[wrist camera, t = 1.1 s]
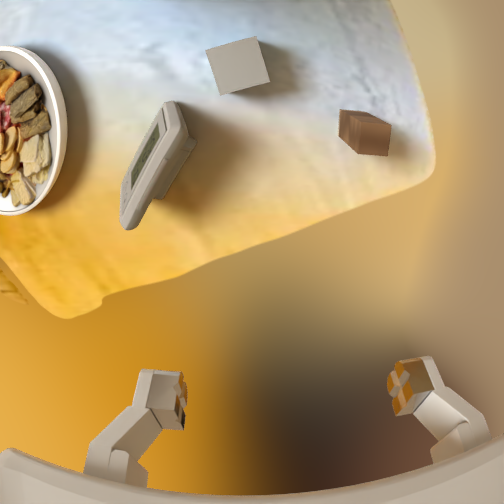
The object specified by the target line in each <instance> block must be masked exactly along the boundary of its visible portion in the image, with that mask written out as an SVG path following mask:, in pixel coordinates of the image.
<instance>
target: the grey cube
mask: <svg viewBox="0 0 504 504" xmlns="http://www.w3.org/2000/svg"><path fill="white" fill-rule="evenodd" d="M205 51H206V54H207V57H208V60H209V63H210V66H211V69H212V72H213V75H214V78H215V81H216V84H217V87H218V90H219V93H220V96H221V95H224V94H228V93H231V92H234V91H238V90H241V89H245V88H249V87H253V86H256V85H260V84H264V83H268V82H270V80H269V76H268V73H267V70H266V66H265V63H264V60H263V56H262V53H261V50H260V47H259V43H258V40H257V37H256V36H255V37H251V38H247V39H243V40H239V41H235V42H232V43H228V44H225V45H221V46H218V47H215V48H211V49H208V50H205Z"/></svg>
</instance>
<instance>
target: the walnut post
mask: <svg viewBox="0 0 504 504" xmlns="http://www.w3.org/2000/svg"><path fill="white" fill-rule="evenodd" d="M391 126H392V125H390V124H388V123H386V122H384V121H382V120H380V119H378V118H377V117H375V116H373V115H371V114H369V113H367V112H363V111H353V110H342V109H340V111H339V126H338V136H339V137H340V138H341V139H342V140H343V141H344V142H346V143H347V144H348V145H349V146H350V147H351V148H352V149H353V150H354V151H355V152H357V153H358V154H366V155H379V156H388V149H389V142H390V134H391Z"/></svg>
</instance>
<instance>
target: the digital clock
mask: <svg viewBox="0 0 504 504" xmlns="http://www.w3.org/2000/svg"><path fill="white" fill-rule="evenodd" d="M196 143H197V140H195V139H194V138H192V137H190V136H188V130H187V127H186V124H185V121H184V118H183V115H182V112H181V110H180V107H179V106H178V104H177V103H176V102H174V101H169V102H166V103H164V104H163V105H162V107H161V109H160V110H159V112H158V114H157V115H156V117H155V119H154V121H153V123H152V124H151V126H150V128H149V130H148V132H147V133H146V135H145V137H144V139H143V141H142V143H141V145H140V146H139V148H138V150H137V152H136V154H135V156H134V158H133V160H132V162H131V164H130V166H129V168H128V170H127V172H126V174H125V177H124V179H123V181H122V184H121V194H120V223H121V225H122V227H123V228H124V229H125V230H132V229H134V228H136V227H137V226H138V225H139V223H140V221H141V219H142V217H143V215H144V214H145V212H146V210H147V208H148V206H149V204H150V202H151V201H152V199H153V198H156V199H163V198H164V196H165V194H166V193H167V191H168V189H169V187H170V186H171V184H172V182H173V181H174V179H175V177H176V176H177V174H178V172H179V171H180V169H181V167H182V166H183V164H184V163H185V161H186V159H187V158H188V156H189V154H190V153H191V151H192V150H193V148H194V147H195V145H196Z"/></svg>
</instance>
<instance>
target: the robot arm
mask: <svg viewBox="0 0 504 504" xmlns="http://www.w3.org/2000/svg"><path fill="white" fill-rule="evenodd" d="M394 368H395V370H393V371H392V372H391V373H390V374H389V376H388V379H387V388H388V392H389V394H390V395H391V396H392V397H394V398H393V401H392V405H393V408H394V412H395V415H396V416H400V415H405V414H410V413H413V414H414V415H415V416H416V417H417V418H418V420H420V422H421V423H422V424H423V425H424V426H425V427H426V428H427V429H428V430H429V431H430V432H431V433H432V434H433V435H434V436H435V437H436V439H437V440H438V441H439V442H438V443H437V444H435V445H434V446H433V447H432V448H431V450H430V452H431V456H432V460H433V463H434V464H432V465H429V466H426V467H423V468H420V469H417V470H413V471H410V472H407V473H404V474H400V475H396V476H392V477H388V478H385V479H381V480H376V481H372V482H367V483H363V484H358V485H353V486H348V487H342V488H335V489H329V490H322V491H314V492H305V493H294V494H281V495H259V496H227V495H226V496H225V495H204V494H191V493H181V492H173V491H165V490H158V489H151V488H147V479H148V472H147V470H146V469H145V468H144V467H142V466H141V465H140V464H139V463H138V462H137V461H138V460H139V459H140V457H141V456H142V455H143V454H144V452H145V451H146V450H147V449H148V447H149V446H150V445H151V444H152V443H153V441H154V440H155V439H156V438H157V436H158V435H159V434H160V432H161V431H162V429H173V430H184V424H185V413H184V410H183V408H184V407H185V406H186V405H187V386H186V383H185V382H183V378H184V376H183V373H182V372H177V371H176V372H175V371H162V370H152V369H142V370H141V372H140V374H139V378H138V382H137V386H136V390H135V395H134V399H133V404H132V406H128V407H127V408H126V409H125V410H124V411H123V412H122V413H121V414H119V416H117V418H115V419H114V420H113V421H112V422H111V423H110V424H109V425H108V426H107V427H106V428H105V429H104V430H103V431H102V432H101V433H100V434H99V435H98V436H97V437H96V438H95V439H93V440H92V441H91V442H90V445H89V450H88V454H87V458H86V462H85V467H84V472H83V473H80V472H77V471H74V470H71V469H67V468H64V467H61V466H58V465H55V464H53V463H50V462H47V461H44V460H42V459H39V458H37V457H34V456H32V455H29V454H27V453H24V452H22V451H20V450H17V449H15V448H8V449H6V450H4V451H3V452H1V453H0V504H504V434H502V435H500V436H498V437H496V438H494V439H492V437H491V435H490V432H489V429H488V426H487V424H486V421H485V419H484V416H483V414H481V413H480V412H479V411H478V410H476V409H475V408H474V407H473V406H471V405H470V404H469V403H468V402H466V401H465V400H464V399H462V398H461V397H460V396H459V395H458V394H456V393H455V392H454V391H453V390H451V389H450V388H449V387H445V386H444V383H443V381H442V379H441V376H440V374H439V372H438V369H437V367H436V365H435V363H434V361H433V358H432V357H431V356H424V357H419V358H413V359H407V360H402V361H398V362H396V364H395V365H394Z"/></svg>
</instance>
